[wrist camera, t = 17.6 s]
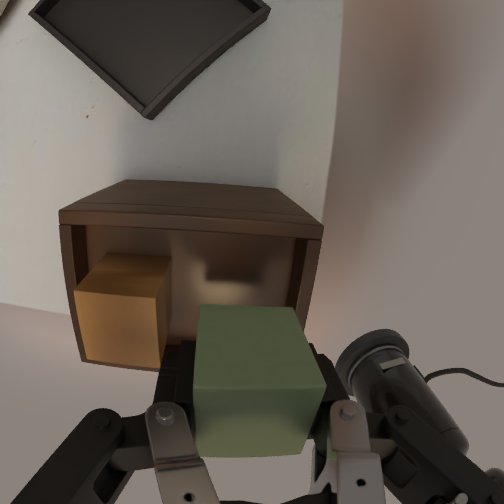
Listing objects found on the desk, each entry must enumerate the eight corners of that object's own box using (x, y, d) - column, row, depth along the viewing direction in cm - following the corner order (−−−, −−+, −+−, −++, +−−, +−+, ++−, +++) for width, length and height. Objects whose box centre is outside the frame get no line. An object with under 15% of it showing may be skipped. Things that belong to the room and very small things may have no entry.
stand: (277, 188, 28) (324, 225, 15) (265, 288, 31) (293, 376, 19) (125, 179, 26) (57, 210, 13) (126, 280, 29) (81, 362, 17)
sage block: (293, 306, 13) (328, 385, 8) (279, 374, 14) (301, 454, 10) (199, 302, 13) (192, 386, 8) (198, 373, 14) (195, 457, 9)
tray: (266, 19, 22) (271, 8, 19) (152, 120, 24) (144, 118, 22) (139, -66, 16) (134, -79, 13) (40, 21, 18) (27, 14, 16)
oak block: (171, 256, 17) (155, 298, 12) (171, 316, 18) (160, 368, 14) (106, 252, 17) (72, 290, 12) (112, 311, 18) (86, 359, 13)
